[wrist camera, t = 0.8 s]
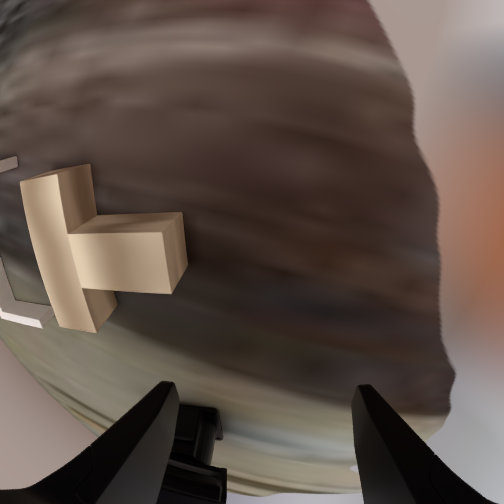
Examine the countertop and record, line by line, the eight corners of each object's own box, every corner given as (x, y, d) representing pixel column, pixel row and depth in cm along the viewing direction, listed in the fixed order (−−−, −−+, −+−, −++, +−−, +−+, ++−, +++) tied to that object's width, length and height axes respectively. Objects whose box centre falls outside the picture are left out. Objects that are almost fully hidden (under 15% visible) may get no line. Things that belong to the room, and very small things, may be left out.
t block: (177, 153, 18) (154, 160, 14) (194, 310, 23) (181, 343, 19) (52, 170, 19) (19, 181, 15) (82, 301, 24) (59, 326, 20)
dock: (55, 314, 25) (42, 328, 23) (13, 306, 25) (1, 318, 23) (16, 155, 18) (-3, 161, 16) (-23, 169, 19) (-40, 175, 17)
